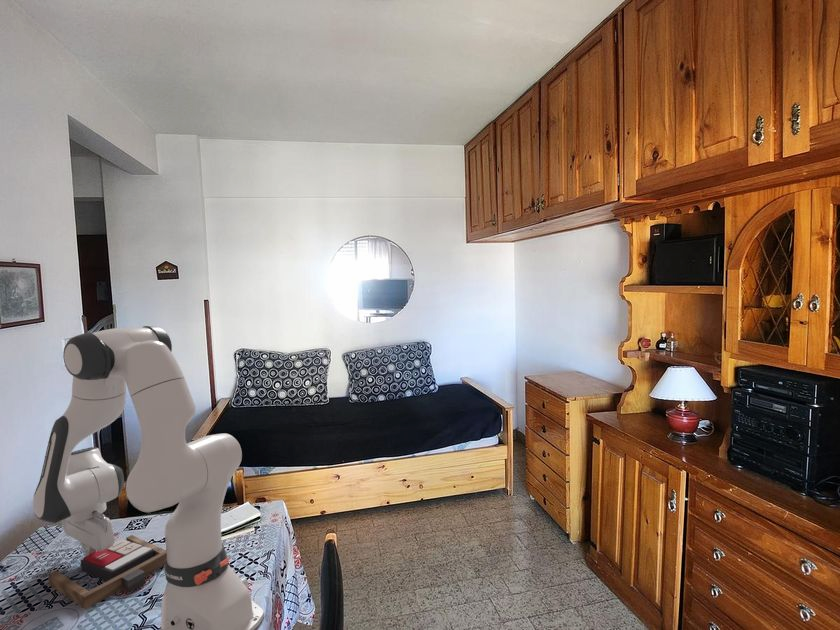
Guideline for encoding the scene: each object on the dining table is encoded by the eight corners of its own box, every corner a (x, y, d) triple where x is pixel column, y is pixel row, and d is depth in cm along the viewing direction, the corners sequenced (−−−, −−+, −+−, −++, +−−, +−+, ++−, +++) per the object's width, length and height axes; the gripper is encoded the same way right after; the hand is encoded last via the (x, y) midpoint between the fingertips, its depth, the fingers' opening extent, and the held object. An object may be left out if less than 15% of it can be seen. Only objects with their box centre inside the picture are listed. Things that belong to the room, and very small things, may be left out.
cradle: (176, 565, 121) (175, 554, 121) (92, 613, 104) (90, 601, 103) (132, 544, 132) (131, 534, 131) (49, 585, 114) (48, 573, 114)
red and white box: (122, 536, 130) (154, 546, 123) (124, 551, 130) (156, 562, 123) (79, 557, 120) (111, 569, 113) (81, 573, 120) (113, 586, 113)
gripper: (119, 510, 120) (123, 560, 121) (81, 495, 131) (85, 541, 131) (92, 521, 115) (96, 574, 116) (55, 504, 125) (59, 552, 126)
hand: (90, 556), depth 124 cm, fingers closed
